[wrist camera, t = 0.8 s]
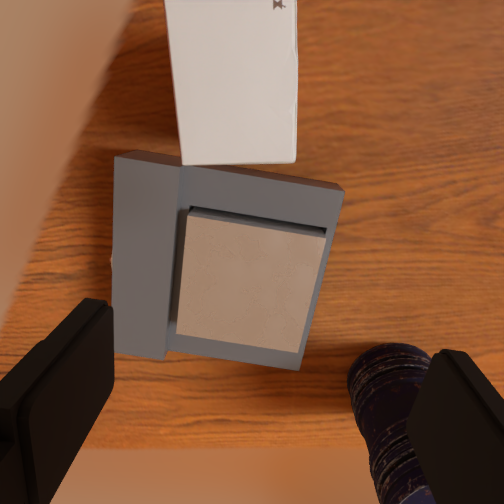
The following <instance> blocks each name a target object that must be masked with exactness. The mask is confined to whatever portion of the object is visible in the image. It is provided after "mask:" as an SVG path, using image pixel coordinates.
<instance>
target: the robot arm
mask: <svg viewBox="0 0 504 504" xmlns="http://www.w3.org/2000/svg"><path fill="white" fill-rule="evenodd" d="M113 386H114V311H113V307H111V306H108V303H107V301H105V300H98V299H91V298H85V299H83V300H82V301H81V302H80V303H79V304H78V305H77V306H76V307H75V308H74V309H73V311H72V312H71V313H70V314H69V315H68V316H67V317H66V318H65V319H64V320H63V321H62V322H61V323H60V324H59V325H58V326H57V327H56V328H55V329H54V330H53V331H52V332H51V333H50V334H49V335H48V336H47V337H46V338H45V339H44V340H42V341H40V342H39V343H37V344H36V345H35V346H34V347H33V348H32V349H31V350H30V351H29V352H28V353H27V354H26V355H25V356H24V357H23V358H22V359H21V360H20V361H19V362H18V363H17V364H16V365H15V366H14V367H13V369H12V370H11V371H10V372H9V373H8V374H7V375H6V376H5V377H4V378H3V379H2V380H1V381H0V504H50V502H51V500H52V498H53V496H54V495H55V493H56V491H57V489H58V487H59V486H60V484H61V482H62V480H63V478H64V477H65V475H66V473H67V471H68V469H69V467H70V466H71V464H72V462H73V460H74V459H75V457H76V455H77V453H78V451H79V450H80V448H81V446H82V444H83V442H84V441H85V439H86V437H87V435H88V433H89V432H90V430H91V428H92V426H93V424H94V423H95V421H96V419H97V417H98V415H99V414H100V412H101V410H102V408H103V406H104V405H105V403H106V401H107V399H108V397H109V396H110V394H111V392H112V389H113ZM406 431H407V435H408V437H409V440H410V442H411V445H412V447H413V449H414V452H415V454H416V457H417V459H418V461H419V464H420V466H421V469H422V471H423V473H424V476H425V478H426V481H427V483H428V485H429V488H430V490H431V492H432V495H433V497H434V500H435V502H436V504H504V399H503V398H502V397H501V396H500V394H499V393H498V392H497V390H496V389H495V388H494V387H493V385H492V384H491V383H490V382H489V380H488V379H487V378H486V377H485V375H484V374H483V373H482V372H481V370H480V369H479V368H478V367H477V365H476V364H475V363H474V362H473V360H472V359H471V358H470V357H469V355H468V354H467V353H466V352H463V351H456V350H449V349H442V350H441V351H440V352H439V353H435V354H434V355H433V357H432V360H431V362H430V365H429V367H428V370H427V372H426V375H425V377H424V379H423V382H422V384H421V387H420V389H419V392H418V394H417V397H416V399H415V402H414V404H413V407H412V409H411V412H410V414H409V417H408V419H407V422H406Z"/></svg>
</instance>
